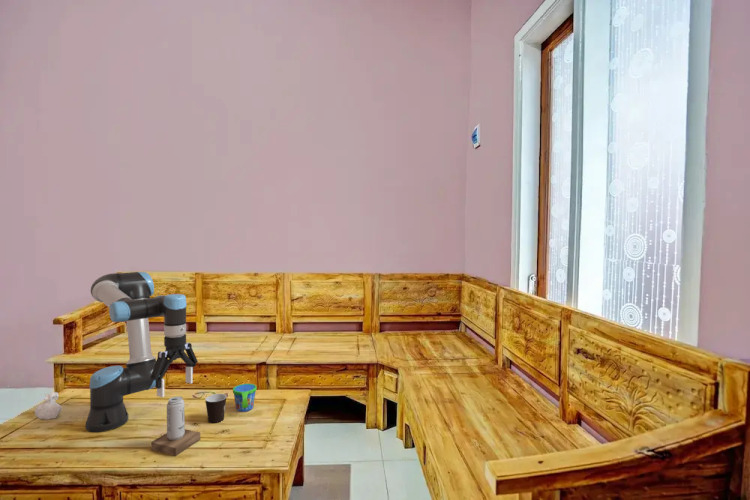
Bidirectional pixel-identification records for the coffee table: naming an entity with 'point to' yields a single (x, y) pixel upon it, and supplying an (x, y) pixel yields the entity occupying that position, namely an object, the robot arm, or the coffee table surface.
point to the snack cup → (244, 396)
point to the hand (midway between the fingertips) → (175, 389)
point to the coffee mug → (215, 407)
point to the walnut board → (175, 443)
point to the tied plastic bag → (48, 407)
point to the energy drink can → (175, 418)
